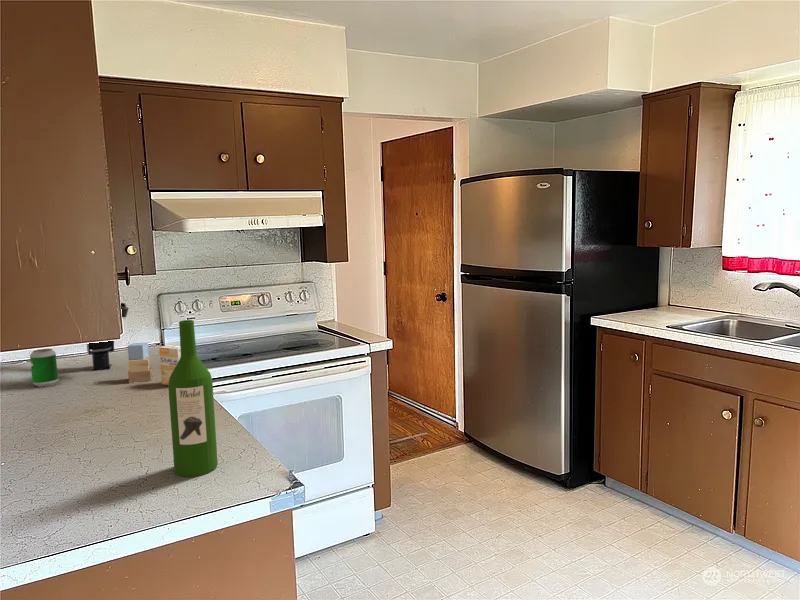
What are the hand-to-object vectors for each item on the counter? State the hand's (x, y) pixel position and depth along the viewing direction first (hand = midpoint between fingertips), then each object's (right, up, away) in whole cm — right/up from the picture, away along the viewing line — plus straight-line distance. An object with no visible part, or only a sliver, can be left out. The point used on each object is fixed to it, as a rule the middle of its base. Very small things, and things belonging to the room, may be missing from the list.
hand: (104, 341), depth 209 cm
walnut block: (+15, -14, -4) cm, 21 cm away
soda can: (-17, -15, -8) cm, 23 cm away
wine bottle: (+62, -22, -82) cm, 105 cm away
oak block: (+15, -10, -5) cm, 18 cm away
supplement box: (+30, -14, -11) cm, 34 cm away
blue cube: (+14, -6, -5) cm, 16 cm away
